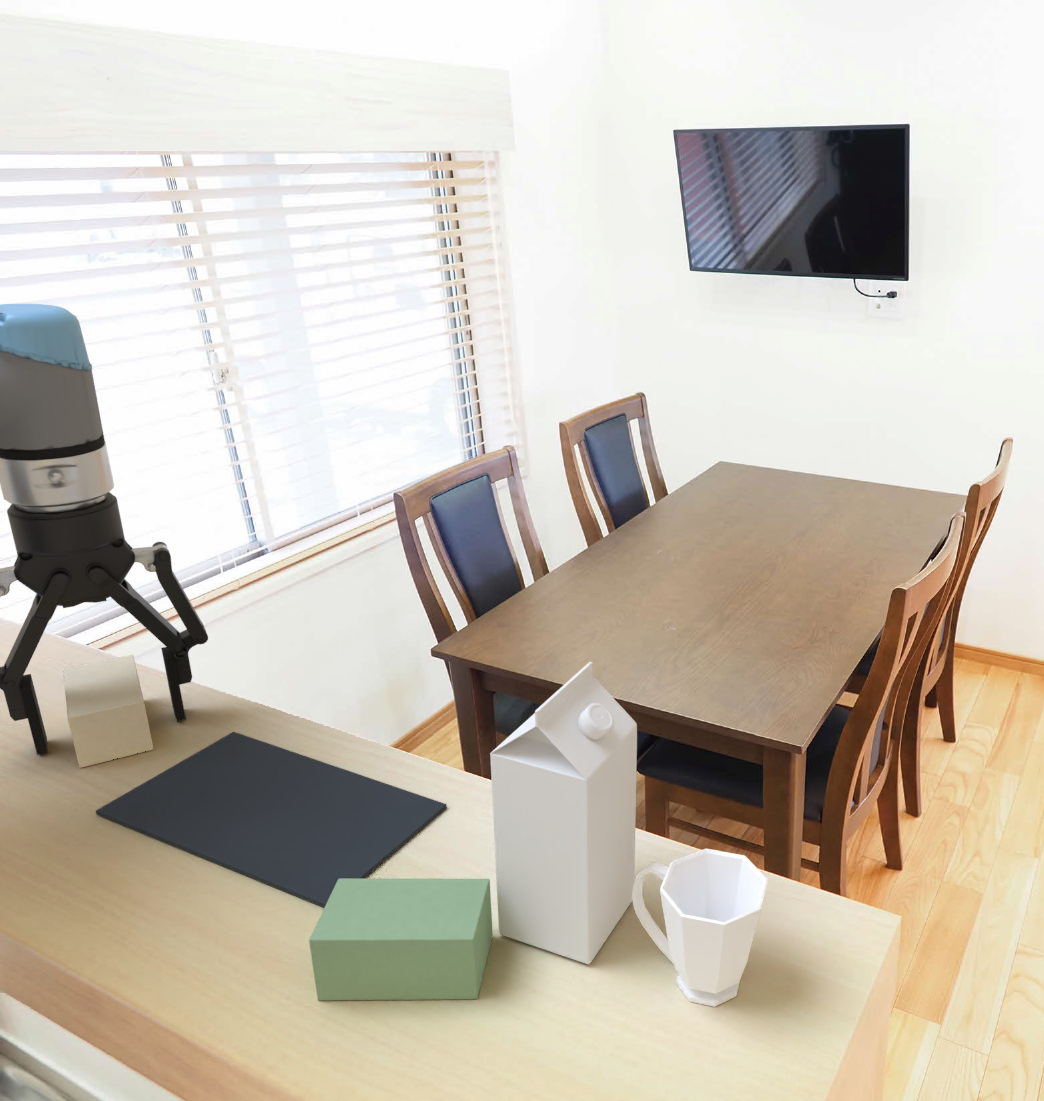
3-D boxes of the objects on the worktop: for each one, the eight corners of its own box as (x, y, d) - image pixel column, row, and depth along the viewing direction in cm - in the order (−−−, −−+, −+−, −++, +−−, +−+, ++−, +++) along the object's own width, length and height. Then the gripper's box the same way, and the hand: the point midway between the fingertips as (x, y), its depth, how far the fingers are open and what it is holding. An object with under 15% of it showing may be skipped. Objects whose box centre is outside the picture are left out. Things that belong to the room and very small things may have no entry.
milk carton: (498, 936, 65) (486, 698, 58) (550, 872, 71) (545, 650, 64) (588, 967, 63) (588, 724, 56) (635, 898, 69) (639, 672, 62)
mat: (96, 814, 75) (95, 810, 74) (234, 735, 86) (233, 731, 86) (328, 909, 66) (327, 905, 66) (446, 807, 78) (446, 803, 77)
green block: (317, 1001, 59) (308, 939, 57) (345, 935, 64) (338, 877, 62) (477, 999, 60) (473, 939, 58) (493, 935, 65) (489, 878, 63)
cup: (722, 1043, 58) (728, 942, 55) (600, 966, 63) (600, 870, 60) (781, 972, 63) (790, 876, 60) (665, 907, 68) (668, 816, 65)
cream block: (153, 749, 83) (144, 701, 81) (79, 768, 80) (67, 718, 78) (142, 699, 90) (132, 654, 89) (74, 715, 87) (62, 668, 86)
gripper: (-124, 534, 68) (-47, 789, 76) (221, 492, 80) (256, 715, 89) (-113, 504, 74) (-43, 745, 82) (208, 469, 86) (241, 681, 94)
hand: (113, 729), depth 85 cm, fingers open, 10 cm apart
